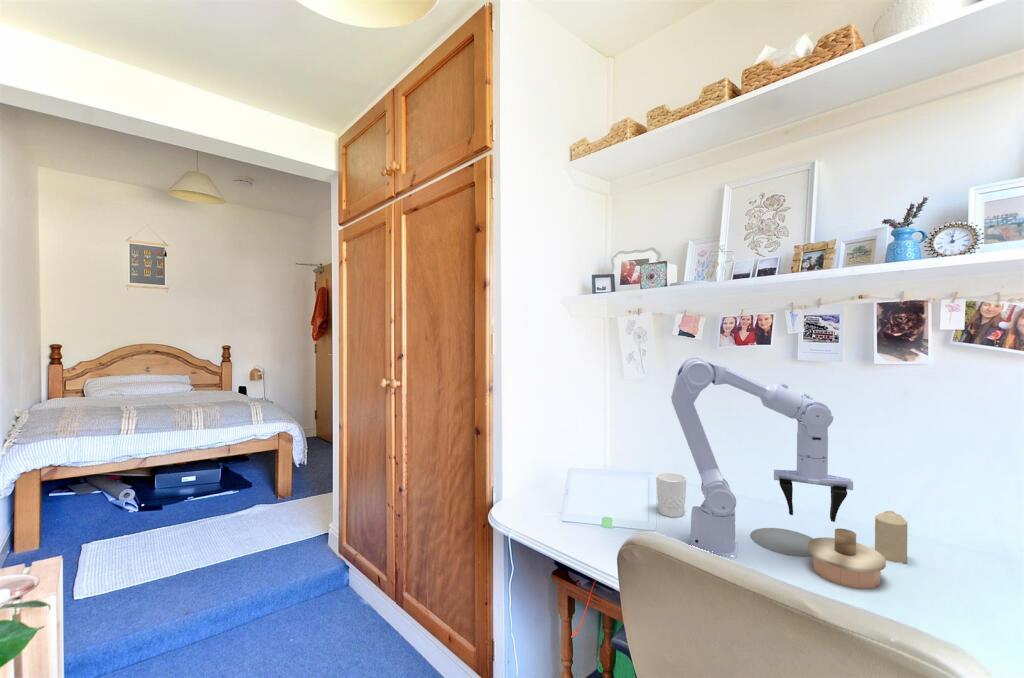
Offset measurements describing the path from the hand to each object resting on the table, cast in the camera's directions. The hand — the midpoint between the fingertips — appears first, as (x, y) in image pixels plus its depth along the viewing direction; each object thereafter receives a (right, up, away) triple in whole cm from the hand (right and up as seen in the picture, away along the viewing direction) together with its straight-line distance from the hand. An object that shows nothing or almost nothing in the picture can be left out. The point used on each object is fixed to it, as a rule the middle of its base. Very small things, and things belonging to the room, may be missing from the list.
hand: (811, 516), depth 102 cm
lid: (+3, -5, -7) cm, 9 cm away
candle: (+18, -9, 0) cm, 20 cm away
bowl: (+3, -9, -7) cm, 12 cm away
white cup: (-22, -9, +26) cm, 35 cm away
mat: (-1, -9, +8) cm, 12 cm away
